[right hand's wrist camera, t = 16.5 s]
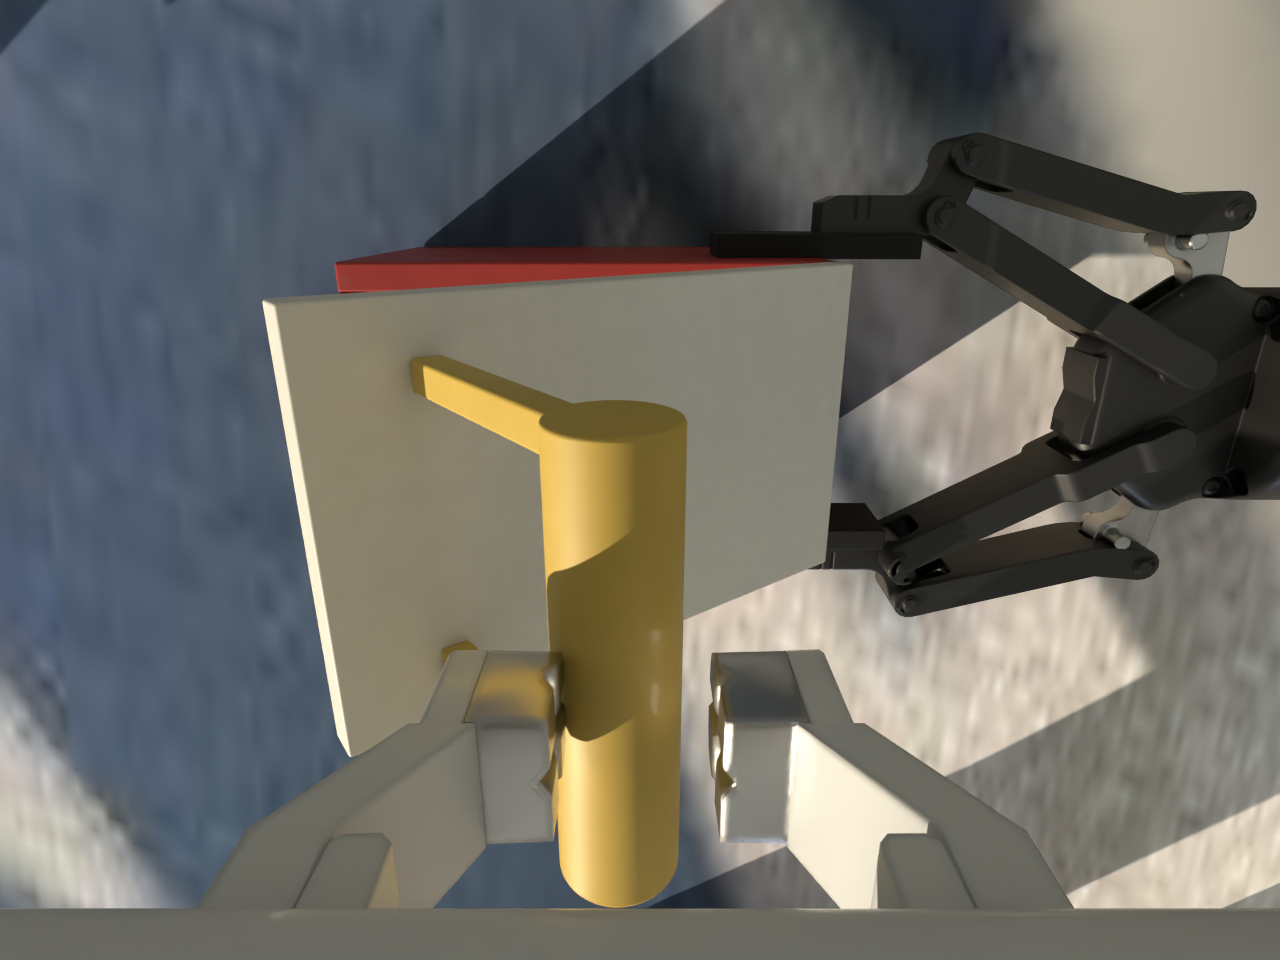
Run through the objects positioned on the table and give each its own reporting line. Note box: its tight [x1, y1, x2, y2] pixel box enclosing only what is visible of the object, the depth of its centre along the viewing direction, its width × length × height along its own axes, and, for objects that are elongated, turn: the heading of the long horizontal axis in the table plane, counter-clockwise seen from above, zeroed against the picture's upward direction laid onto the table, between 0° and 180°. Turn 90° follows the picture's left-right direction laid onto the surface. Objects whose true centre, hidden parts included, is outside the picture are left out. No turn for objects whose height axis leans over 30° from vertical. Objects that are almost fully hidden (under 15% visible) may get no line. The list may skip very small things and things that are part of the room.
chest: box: [335, 247, 834, 294], centre depth 28 cm, size 15×10×9 cm, turn 90°
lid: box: [263, 262, 853, 907], centre depth 16 cm, size 16×10×8 cm
